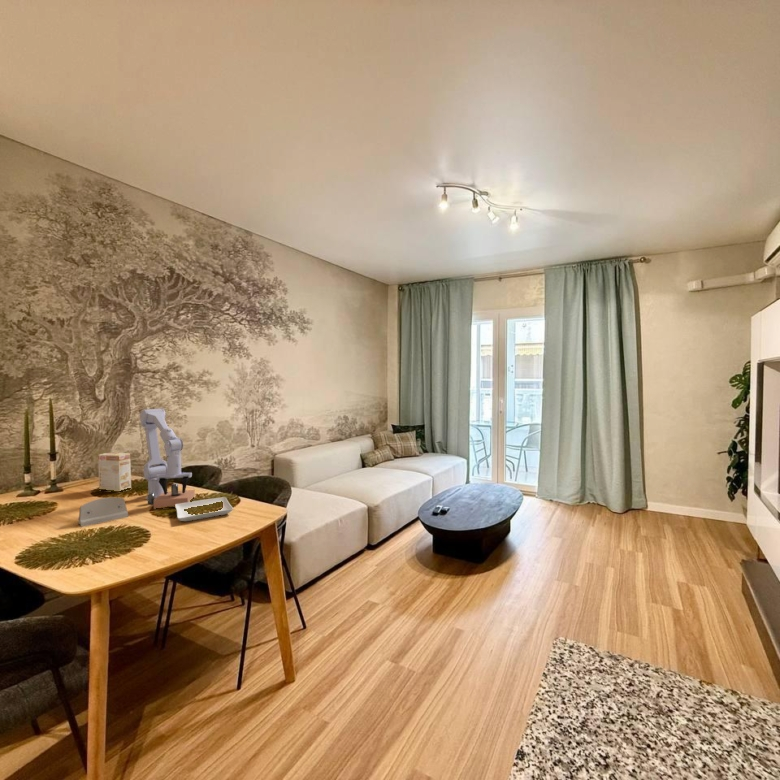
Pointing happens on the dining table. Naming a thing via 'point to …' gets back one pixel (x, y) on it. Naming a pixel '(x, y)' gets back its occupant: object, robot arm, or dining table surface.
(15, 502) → the dining table surface
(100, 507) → the grey bracket
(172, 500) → the hole block
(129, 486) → the coffeecake box
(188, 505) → the salad plate
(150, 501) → the short pin
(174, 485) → the tall pin
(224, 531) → the dining table surface
